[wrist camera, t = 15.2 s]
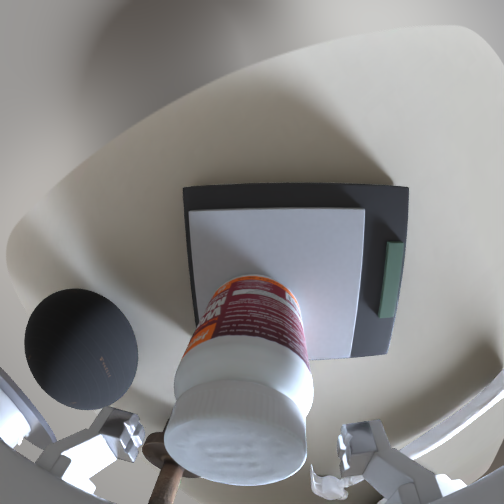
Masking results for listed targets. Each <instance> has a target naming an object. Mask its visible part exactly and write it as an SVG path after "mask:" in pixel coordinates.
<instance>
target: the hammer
mask: <svg viewBox="0 0 504 504" xmlns="http://www.w3.org/2000/svg"><path fill="white" fill-rule="evenodd" d="M502 397H504V369H503V370H502V371H501V372H500V373H499V374H498V375H497V376H496V377H495V378H494V379H493V380H492V382H491V383H490V384H489V385H488V386H487V387H486V388H485V389H484V390H483V391H481V392H480V393H479V394H478V395H477V396H476V397H475V398H474V399H472V400H471V401H470V402H469V403H468V404H466V405H465V406H464V407H463V408H461V409H460V410H459V411H457V412H456V413H454V414H453V415H452V416H450V417H449V418H447V419H446V420H444V421H443V422H441V423H440V424H438V425H437V426H435V427H434V428H432V429H431V430H429V431H428V432H426V433H425V434H423V435H422V436H420V437H419V438H417V439H416V440H414V441H413V442H411V443H410V444H408V445H406V446H405V447H403V448H402V449H400V450H398V451H400V452H401V453H403V454H404V455H406V456H407V457H409V458H410V459H412V460H413V459H415V458H417V457H419V456H421V455H423V454H425V453H427V452H428V451H430V450H432V449H434V448H435V447H437V446H439V445H440V444H442V443H443V442H445V441H446V440H448V439H449V438H451V437H452V436H453V435H455V434H456V433H457V432H459V431H460V430H461V429H463V428H464V427H465V426H467V425H468V424H469V423H471V422H472V421H473V420H475V419H476V418H477V417H478V416H480V415H481V414H482V413H484V412H485V411H486V410H487V409H489V408H490V407H491V406H492V405H494V404H495V403H496V402H497V401H499V400H500V399H501V398H502ZM310 478H311V489H312V491H313V492H314V493H315V494H316V495H318V496H320V497H323V498H325V499H328V500H334V499H337V498H338V499H339V500H345V499H346V498H347V497H348V492H347V491H346V490H344V488H345V487H346V488H347V487H348V486H352V485H353V484H357V483H358V482H360V481H363V480H365V478H364V477H363V476H362V475H359V476H352V477H346V478H342V479H341V480H339V479H337V478H336V477H334V476H330V475H328V476H325V477H320V476H318V475H316V474H315V473H314V470H313V467H312V464H311V468H310Z"/></svg>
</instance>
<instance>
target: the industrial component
mask: <svg viewBox="0 0 504 504" xmlns="http://www.w3.org/2000/svg"><path fill="white" fill-rule="evenodd" d="M169 420H170V418H169V419H168V421H167V423H166V426H165V428H164V430H163V432H155V433H152V434H150V435H149V436H148V437H147V439H146V441H145V443H144V445H143V447H142V452H143V454H144V456H145V457H146V459H147V460H148V461H149V462H151V463H152V464H153V465H155V466H156V467H158V468H159V469H161V471H160V474H159V476H158V479H157V482H156V484H155V487H154V489H153V492H152V495H151V497H150V500H149V503H148V504H173V503H174V500H175V497H176V493H177V490H178V487H179V484H180V481H181V478H182V477H187V478H200V476H198V475H196V474H194V473H192V472H190V471H188V470H186V469H185V468H183V467H182V466H181V465H179V464H178V463H177V462H176V461H175V460H174V459H173V458H172V457H171V456H170V455H169V453H168V452H167V450H166V448H165V444H164V434H165V431H166V428H167V425H168V422H169Z"/></svg>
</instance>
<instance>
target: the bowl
mask: <svg viewBox="0 0 504 504" xmlns="http://www.w3.org/2000/svg"><path fill="white" fill-rule="evenodd" d="M435 477H436V480H437V482H438V485H439V487H440V490H441V493H442V496H443V497H445V496H447V495H449V494H451V493H453V492H456V491H458V490H460V489H462V488H464V487H466V486H467V485H465V484H464V483H463V482H462V481H460V480H450V479H449V478H448V477H447V476H446V475H444V474H439V475H435ZM386 501H387V499H386V498H383V499H382V500H380V501H379V502H378V503H377V504H385V502H386Z"/></svg>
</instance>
